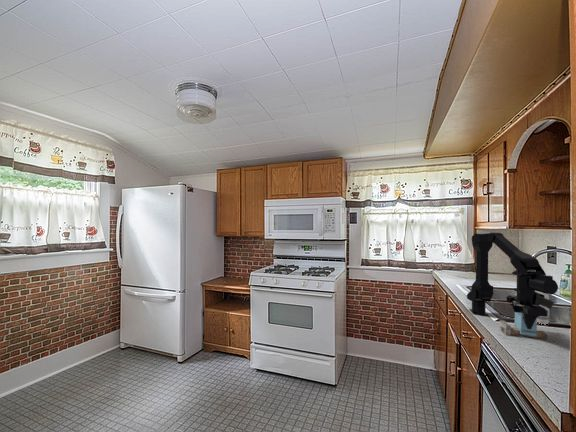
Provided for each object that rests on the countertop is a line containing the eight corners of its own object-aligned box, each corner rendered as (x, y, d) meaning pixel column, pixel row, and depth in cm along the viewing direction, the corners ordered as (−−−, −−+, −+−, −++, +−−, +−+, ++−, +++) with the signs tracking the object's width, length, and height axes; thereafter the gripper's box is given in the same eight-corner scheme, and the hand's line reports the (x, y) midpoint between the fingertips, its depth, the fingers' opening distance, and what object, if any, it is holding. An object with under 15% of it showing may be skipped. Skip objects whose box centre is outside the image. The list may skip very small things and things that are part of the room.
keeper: (521, 334, 109) (521, 316, 109) (514, 329, 114) (514, 312, 114) (536, 336, 108) (536, 318, 108) (529, 330, 113) (529, 313, 113)
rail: (505, 335, 111) (506, 325, 111) (499, 329, 116) (499, 320, 116) (549, 340, 106) (549, 330, 106) (540, 334, 112) (540, 324, 112)
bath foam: (526, 318, 130) (526, 276, 130) (545, 321, 126) (546, 278, 127) (531, 323, 123) (531, 279, 124) (551, 326, 120) (552, 281, 120)
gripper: (565, 295, 100) (565, 338, 100) (537, 284, 118) (536, 320, 117) (528, 292, 103) (528, 334, 103) (506, 282, 121) (505, 317, 121)
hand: (525, 326), depth 111 cm, fingers closed on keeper, 6 cm apart
